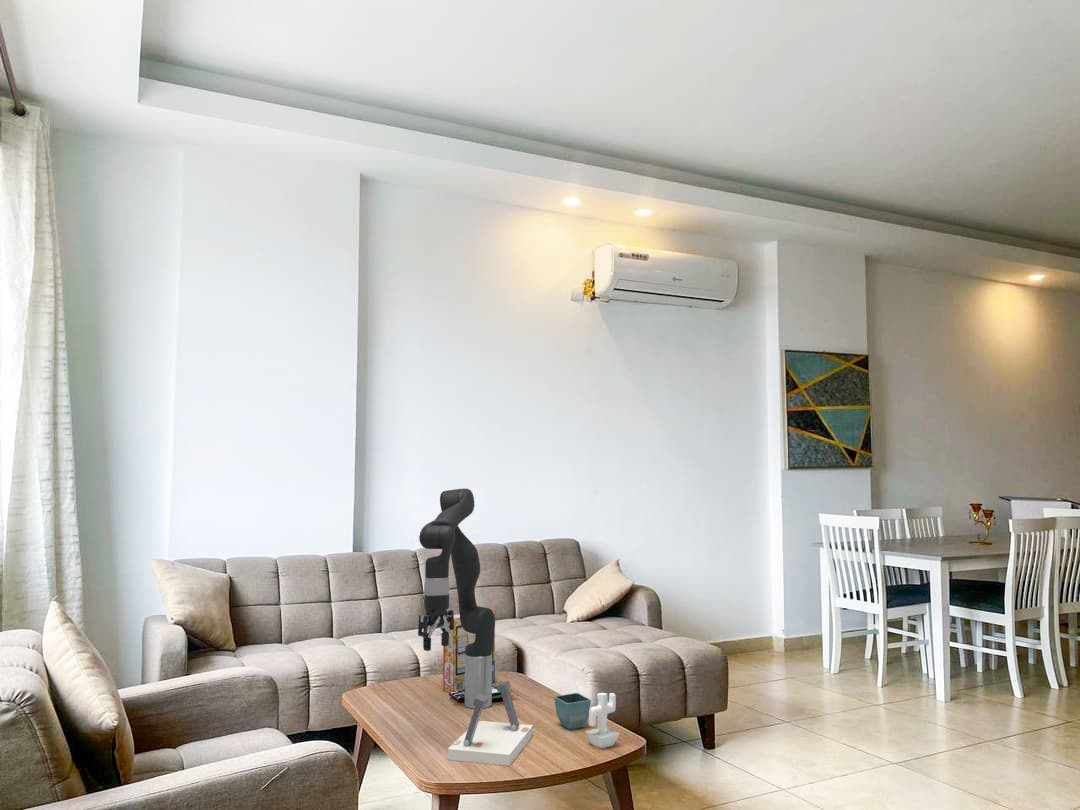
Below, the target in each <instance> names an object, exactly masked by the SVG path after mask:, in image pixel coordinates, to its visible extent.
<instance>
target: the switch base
mask: <svg viewBox="0 0 1080 810" xmlns="http://www.w3.org/2000/svg"><path fill="white" fill-rule="evenodd" d="M467 731H468V729H467V730H465V732H464V733H463V734H461V736H460V737H459V738H457V739H456V740H454V741H453V742H452V743H451V745H450V746H449V747H448V748H447V760H448V761H453V762H454V761H455V762H464V763H465V762H467V763H476V764H484V765H485V764H486V765H494V766H507V767H509V766H511V764H512V763H513V762H514V761H515V760H516V758H517V757H518V755H519V754H520V753H521V751H522V750H523V749H524V748H525V746H526V745H527V744H528V743H529V741H530V740H531V739H532V738H533V737H534V725H533V724H522V723H519V727H518V728H517V729H516V730H515V731H512V730H511V725H510V722H499V721H498V722H497V721H489V720H488V721H487V720H486V721H485V720H479V722H478V725H477V728H476V731H475V734H474V737H473V741H472V742H471V743H470V745H468V746H464V744H463V742H464V740H465V737H466V734H467Z"/></svg>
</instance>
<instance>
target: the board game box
mask: <svg viewBox="0 0 1080 810" xmlns="http://www.w3.org/2000/svg"><path fill="white" fill-rule="evenodd" d="M492 611H493V613H494V616H495V617H496V615H495V613H496V611H495V610H492ZM449 626H450V622H449ZM495 638H496V634H495V635H494V645H493V648H492V685H493V684H496V650H495V649H496V639H495ZM474 642H475V634H474V633H469V632H466V631H465V630H464V629H463V628H462V625H461V622H460V613H459V614H458V613H457V614H454V629H453V630H451V631H450V633H449V645H448V646H442V647H443V648H442V649H443V650H442V651H443V654H442V655H443V657H442V660H443V662H442V663H443V664H442V670H443V671H442V672H443V673H442V674H443V675H442V676H443V677H442V678H443V679H442V682H443V683H442V685H443V688H442V691H443V692H445V693H448V694H451V692H456V691H461V690H465V647H466V646H467V645H468V644H471V643H474Z"/></svg>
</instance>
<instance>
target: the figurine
mask: <svg viewBox="0 0 1080 810" xmlns="http://www.w3.org/2000/svg"><path fill="white" fill-rule="evenodd" d="M596 696H597V697H596V698H597V705H596V706H592V707H591V706H590V710H589V717H588V725H589V726H590V727H596V723H597V728H594V729H590V730H589V729H588V730H586V731H584V732H585V734H586V736H587V737H588V739H589V741H590V743H591V745H593V746H594V747H597V748H600V749H605V748H610V747H612V746H614V744H615V742H616V741H617V739H618V737H619V735H620V732H617V731H615V730H612V729H610V728H608V714H612V713H615V711H616V707H617V702H616V701H617V698H616V697H617V695H616V694H615V692H610V693H609V694H608V693H606V692H599V693H597V695H596ZM596 720H597V722H596Z"/></svg>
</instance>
